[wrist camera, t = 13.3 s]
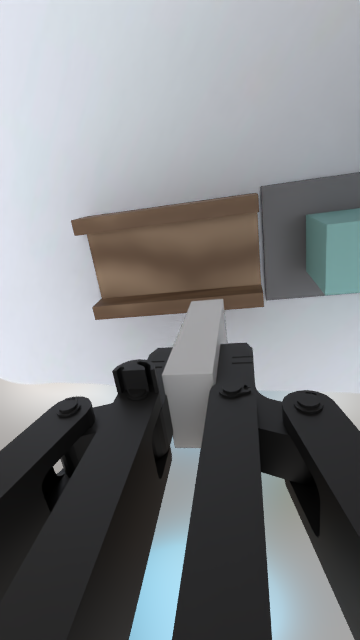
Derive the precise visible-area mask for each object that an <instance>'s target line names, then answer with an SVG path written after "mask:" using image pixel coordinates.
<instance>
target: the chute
mask: <svg viewBox="0 0 360 640" xmlns="http://www.w3.org/2000/svg"><path fill="white" fill-rule="evenodd" d="M257 212H259V201H258V194H257V193H252V194H245V195H238V196H231V197H224V198H216V199H209V200H202V201H195V202H188V203H181V204H174V205H166V206H159V207H152V208H145V209H138V210H131V211H124V212H117V213H109V214H102V215H95V216H88V217H83V218H79V219H75V220H71V223H72V227H73V231H74V235H75V236H77V235H84V234H87V237H88V241H89V246H90V250H91V254H92V259H93V263H94V267H95V271H96V276H97V280H98V284H99V288H100V293H101V297H102V299H101V300H100V301H99V302H98V303H96V304H95V305H94V306H93V307H92V308H93V312H94V316H95V320H99V319H112V318H125V317H138V316H151V315H164V314H177V313H187V311H188V309H189V306H190V304H191V301H203V300H215V299H223V303H224V310H229V309H242V308H255V307H264V301H263V290H262V286H261V275H260V255H259V236H258V217H257Z"/></svg>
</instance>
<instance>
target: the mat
mask: <svg viewBox="0 0 360 640" xmlns="http://www.w3.org/2000/svg"><path fill="white" fill-rule="evenodd" d="M261 197H262V218H263V239H264V261H265V282H266V300H277V299H289V298H302V297H314V296H327V295H325V294H324V293H323V292H322V291H321V289H320V288H319V287H318V285H317V284H316V283H315V282H314V280H313V279H312V278H311V277H310V275H309V274H308V273H307V272H306V215H308V214H316V213H324V212H332V211H340V210H348V209H356V208H360V172H358V173H351V174H344V175H337V176H330V177H323V178H316V179H309V180H302V181H295V182H288V183H281V184H275V185H268V186H261ZM349 294H352V293H349ZM337 295H339V294H337Z"/></svg>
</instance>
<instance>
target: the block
mask: <svg viewBox="0 0 360 640" xmlns="http://www.w3.org/2000/svg"><path fill="white" fill-rule="evenodd" d="M306 272H307V273H308V274H309V275H310V277H311V278H312V279H313V280H314V282H315V283H316V284H317V285H318V287H319V288H320V289H321V291H322V292H323V293H324V294H325V295H337V294H349V293H360V208H356V209H348V210H340V211H332V212H324V213H316V214H308V215H306Z"/></svg>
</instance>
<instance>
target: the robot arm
mask: <svg viewBox="0 0 360 640" xmlns="http://www.w3.org/2000/svg"><path fill="white" fill-rule="evenodd" d="M112 372H113V376H114V380H115V384H116V388H117V392H118V395H117V397H116V399H115V400H114V402H113V403H111V404H108V405H103V406H99V407H94V408H93V407H92V404H91V401H90V400H89V399H88V398H85V397H72V398H67V399H65V400H63V401H60V402H58V403H57V404H56V405H54V406H53V407H51V408H50V409H49V410H48V411H47V412H46V413H44V414H43V415H42V416H41V417H40V418H39V419H37V420H36V421H35V422H34V423H33V424H31V425H30V426H29V427H28V428H27V429H26V430H24V431H23V432H22V433H21V434H20V435H18V436H17V437H16V438H15V439H14V440H13V441H12V442H10V443H9V444H8V445H7V446H6V447H4V448H3V449H2V450H1V451H0V640H129V636H130V632H131V628H132V624H133V619H134V615H135V611H136V606H137V603H138V598H139V595H140V590H141V586H142V582H143V578H144V574H145V570H146V565H147V561H148V557H149V553H150V549H151V545H152V540H153V536H154V532H155V528H156V523H157V520H158V516H159V511H160V507H161V503H162V499H163V494H164V490H165V486H166V482H167V478H168V474H169V470H170V466H171V461H172V453H171V448H170V443H171V439H172V436H173V439H174V445H175V448H201V451H200V457H199V465H198V471H197V477H196V484H195V491H194V498H193V505H192V511H191V517H190V524H189V531H188V538H187V544H186V550H185V557H184V564H183V570H182V577H181V584H180V590H179V597H178V603H177V610H176V617H175V623H174V630H173V637H172V640H272V633H271V617H270V602H269V588H268V573H267V557H266V542H265V526H264V511H263V497H262V481H261V472H263V473H266V474H270V475H273V476H276V477H279V478H283V479H285V484H286V487H287V489H288V491H289V493H290V496H291V498H292V500H293V502H294V504H295V507H296V509H297V511H298V514H299V516H300V518H301V520H302V523H303V525H304V527H305V529H306V531H307V534H308V536H309V538H310V540H311V543H312V545H313V547H314V549H315V552H316V554H317V556H318V558H319V561H320V563H321V565H322V567H323V570H324V572H325V574H326V576H327V578H328V581H329V583H330V585H331V588H332V590H333V592H334V594H335V597H336V599H337V601H338V603H339V605H340V607H341V610H342V612H343V614H344V617H345V619H346V621H347V623H348V626H349V628H350V630H351V632H352V635H353V637H354V639H355V640H360V431H359V430H358V429H357V427H356V426H355V425H354V424H353V423H352V422H351V420H350V419H349V418H348V417H347V416H346V415H345V413H344V412H343V411H342V410H341V409H340V408H339V406H338V405H337V404H336V403H335V402H334V401H333V400H332V399H331V398H329V397H328V396H327V395H324V394H322V393H319V392H315V391H309V390H303V391H296V392H292V393H290V394H288V395H287V396H285V397H284V399H283V401H282V402H281V401H276V400H272V399H269V398H266V397H264V396H263V395H261V394H260V393H259V392H258V391H257V390H256V387H255V378H254V364H253V350H252V348H251V347H250V346H249V345H248V344H247V343H231V344H227V333H226V323H225V313H224V303H223V299H215V300H203V301H191V304H190V306H189V309H188V311H187V314H186V316H185V319H184V321H183V324H182V326H181V329H180V331H179V334H178V336H177V339H176V341H175V344H174V346H173V347H171V348H158V349H156V350H155V351H154V352H152V353H151V354H150V355H149V357H148V359H147V360H141V359H139V360H131V361H128V362H125V363H123V364H121V365H119V366H117V367H116V368H115V369H114V370H113V371H112ZM59 459H61V462H62V464H63V467H64V468H63V469H62V470H61V471H60V472H59V473H57V474H56V473H55V471H54V468H53V466H54V465H55V464H56V462H58V460H59Z"/></svg>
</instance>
